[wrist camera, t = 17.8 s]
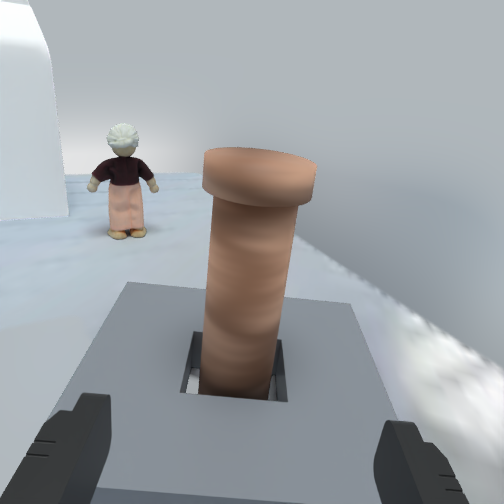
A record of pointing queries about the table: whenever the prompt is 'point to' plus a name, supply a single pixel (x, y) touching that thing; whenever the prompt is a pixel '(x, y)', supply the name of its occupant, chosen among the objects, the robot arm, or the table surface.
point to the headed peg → (248, 264)
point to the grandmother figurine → (124, 183)
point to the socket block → (233, 408)
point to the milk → (28, 121)
